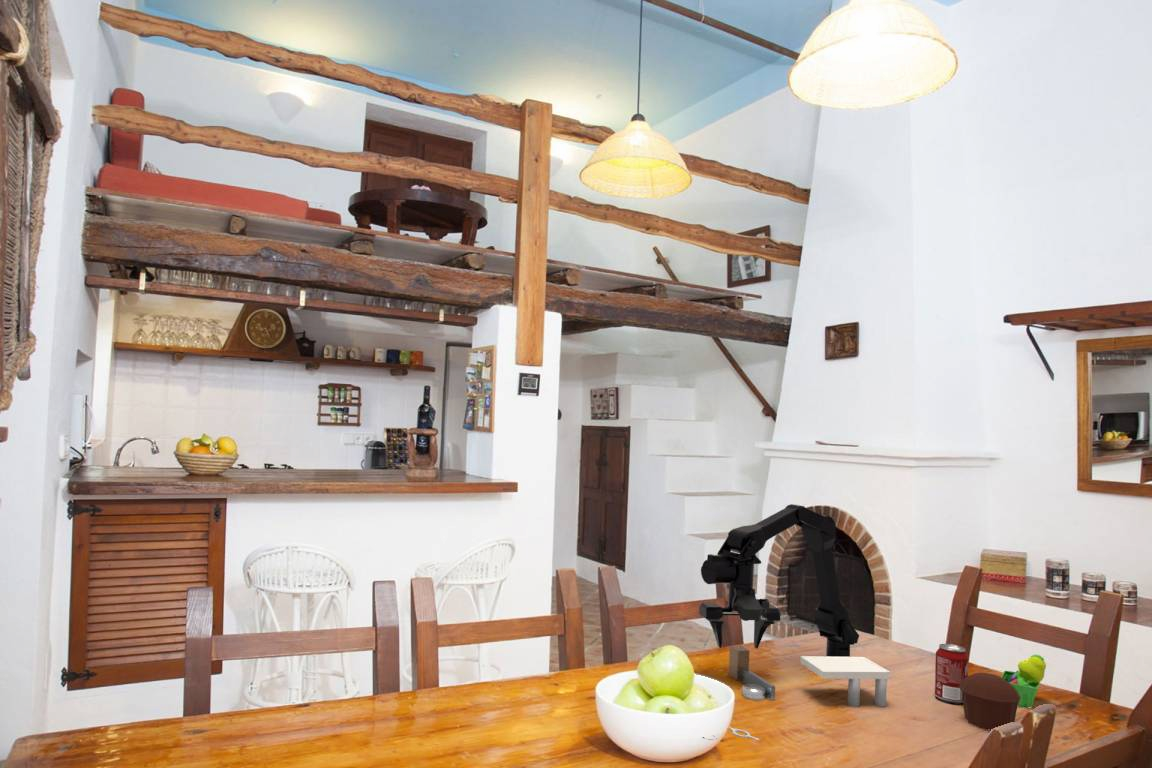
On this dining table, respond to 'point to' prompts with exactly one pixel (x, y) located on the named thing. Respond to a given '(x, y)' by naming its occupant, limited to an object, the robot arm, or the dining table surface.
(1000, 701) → the muffin
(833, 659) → the low stand
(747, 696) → the token
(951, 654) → the soda can
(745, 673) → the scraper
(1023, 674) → the green toy figure
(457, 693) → the dining table surface
